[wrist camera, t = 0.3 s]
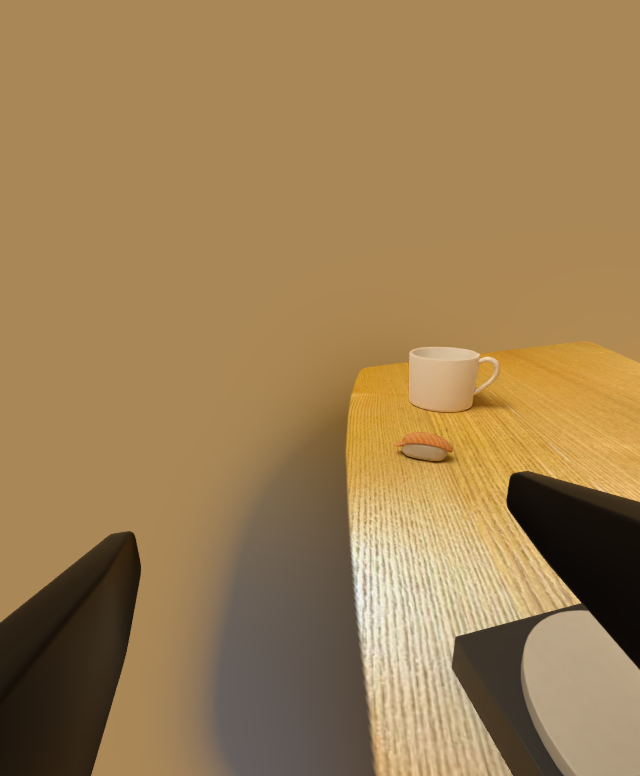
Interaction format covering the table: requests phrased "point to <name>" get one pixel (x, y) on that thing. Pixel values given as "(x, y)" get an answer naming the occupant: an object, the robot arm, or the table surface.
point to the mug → (445, 378)
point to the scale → (554, 694)
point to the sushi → (424, 446)
